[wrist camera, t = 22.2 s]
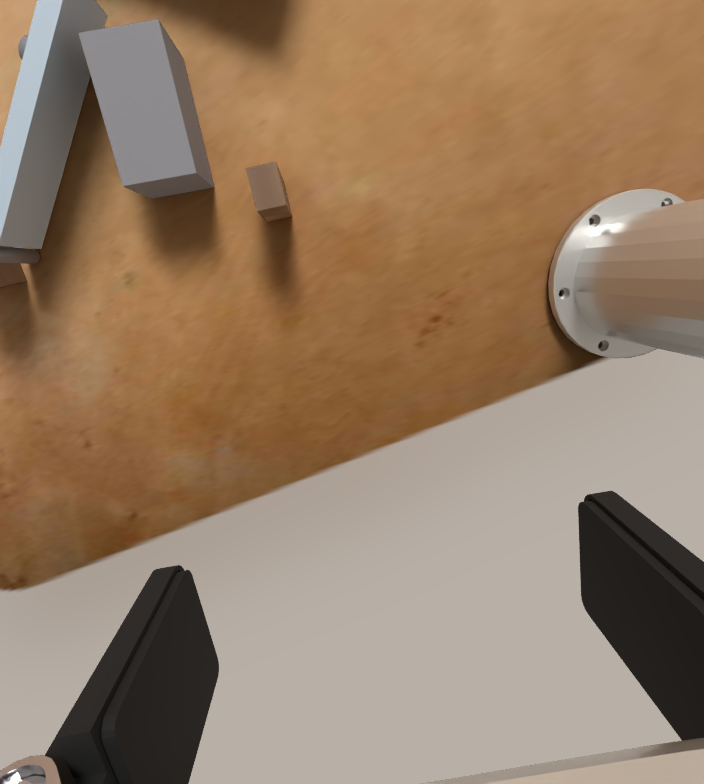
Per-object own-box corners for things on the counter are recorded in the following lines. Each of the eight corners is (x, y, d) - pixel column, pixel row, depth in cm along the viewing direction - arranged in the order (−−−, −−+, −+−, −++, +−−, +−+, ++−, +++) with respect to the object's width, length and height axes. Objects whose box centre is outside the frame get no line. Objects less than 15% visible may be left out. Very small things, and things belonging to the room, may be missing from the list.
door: (39, 266, 32) (-23, 265, 27) (4, 252, 32) (-66, 247, 26) (109, 17, 29) (56, -46, 23) (71, -2, 28) (8, -72, 23)
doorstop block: (184, 59, 30) (158, 19, 25) (215, 187, 32) (196, 172, 27) (117, 71, 30) (78, 32, 25) (152, 199, 32) (122, 186, 27)
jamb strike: (283, 181, 32) (275, 161, 26) (291, 216, 33) (286, 204, 27) (259, 186, 32) (245, 168, 26) (267, 221, 33) (256, 211, 27)
